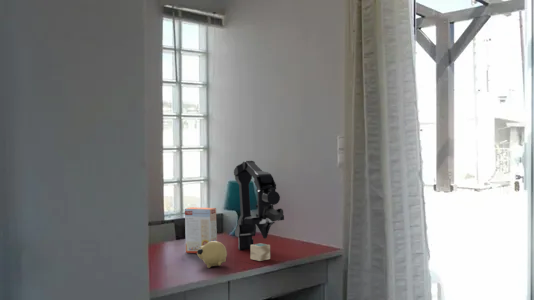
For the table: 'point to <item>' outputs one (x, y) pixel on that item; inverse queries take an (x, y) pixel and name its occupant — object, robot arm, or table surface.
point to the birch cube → (260, 252)
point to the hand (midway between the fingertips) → (265, 238)
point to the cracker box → (199, 227)
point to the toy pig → (212, 253)
